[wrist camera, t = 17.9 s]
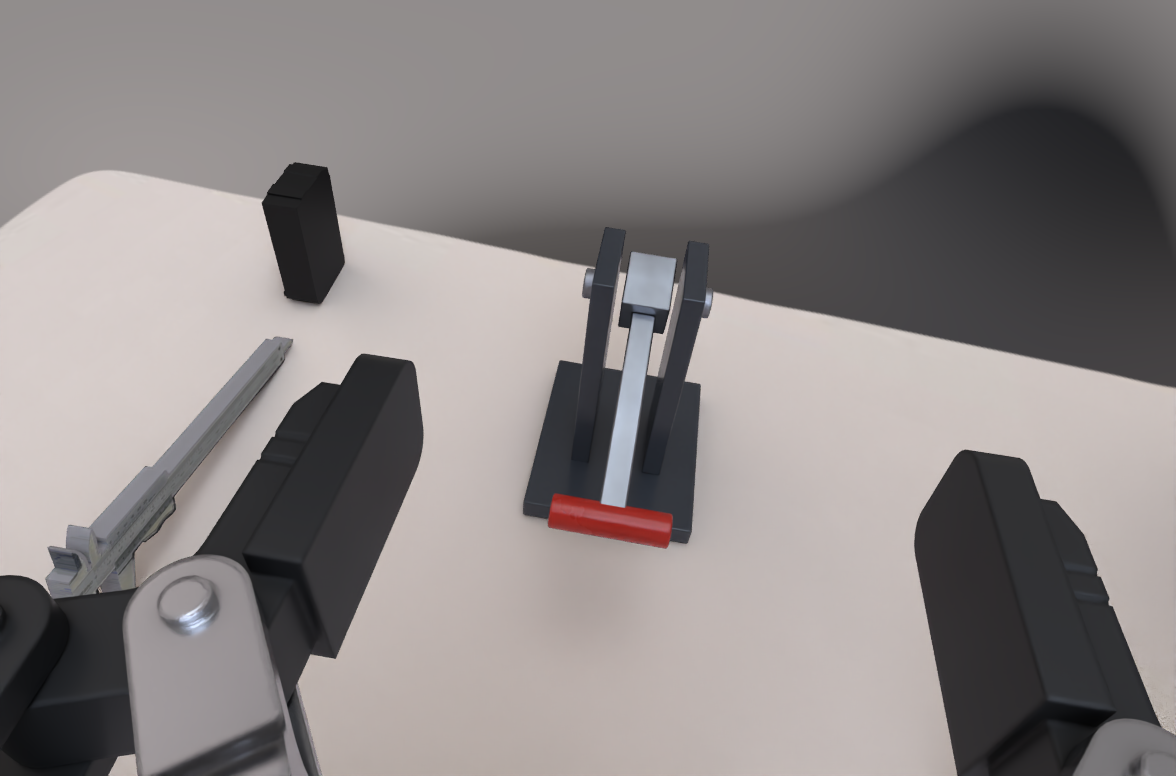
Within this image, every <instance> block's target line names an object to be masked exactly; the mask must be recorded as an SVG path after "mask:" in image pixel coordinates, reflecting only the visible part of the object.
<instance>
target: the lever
mask: <svg viewBox="0 0 1176 776" xmlns="http://www.w3.org/2000/svg"><path fill="white" fill-rule="evenodd" d="M676 265H677V259H675V258H670V257H664V256H658V255H651V254H646V253H639V252H633V251H631V253H630V258H629V263H628V269H627V275H626V280H625V286H624V292H623V297H622V303H621V310H620V317H619V323H618V326H619V327H623V328H629V334H628V339H627V345H626V351H625V357H624V363H623V369H622V375H621V381H620V386H619V392H618V398H617V404H616V410H615V416H614V422H613V427H612V433H611V439H610V445H609V451H608V457H607V463H606V469H605V474H604V480H603V486H602V492H601V498H600V501H597V500H591V499H586V498H580V497H574V496H569V495H563V494H558V493H554V495H553V498H552V502H551V507H550V512H549V518H548V527H549V528H553V529H559V530H565V531H570V532H576V533H581V534H587V535H592V536H598V537H604V538H609V539H615V540H620V541H626V542H631V543H637V544H643V545H648V546H654V547H659V548H665V549H666V548H667V547H668V545H669V542H670V537H671V531H672V523H673V516H672V514H670V513H664V512H659V511H653V510H648V509H642V508H636V507H631V506H626V505H627V499H628V492H629V486H630V479H631V473H632V466H633V460H634V454H635V447H636V441H637V434H638V428H639V421H640V415H641V409H642V402H643V396H644V389H645V383H646V376H647V370H648V364H649V357H650V351H651V344H652V338H653V333H659V334H663V333H664V330H665V326H666V322H667V319H668V315H669V311H670V306H671V299H672V292H673V286H674V279H675V272H676Z"/></svg>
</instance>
